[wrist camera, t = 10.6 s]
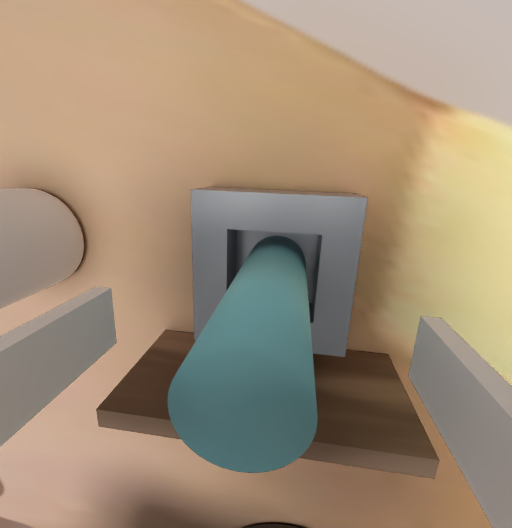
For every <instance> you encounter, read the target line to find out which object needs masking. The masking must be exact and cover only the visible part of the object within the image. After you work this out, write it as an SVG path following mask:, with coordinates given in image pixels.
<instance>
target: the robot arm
mask: <svg viewBox="0 0 512 528" xmlns="http://www.w3.org/2000/svg"><path fill="white" fill-rule="evenodd" d="M116 343H117V342H116V332H115V322H114V313H113V303H112V293H111V288H105V287H94V288H92V289H90V290H88V291H86V292H84V293H82V294H80V295H78V296H76V297H74V298H73V299H71V300H69V301H67V302H65V303H63V304H61V305H59V306H57V307H55V308H54V309H52V310H50V311H48V312H46V313H44V314H42V315H40V316H38V317H36V318H34V319H33V320H31V321H29V322H27V323H25V324H23V325H21V326H19V327H17V328H15V329H14V330H12V331H10V332H8V333H6V334H4V335H2V336H0V446H2V445H3V444H4V443H5V442H6V441H7V440H8V439H9V438H11V437H12V436H13V435H14V434H15V433H16V432H17V431H18V430H20V429H21V428H22V427H23V426H24V425H25V424H26V423H27V422H28V421H30V420H31V419H32V418H33V417H34V416H35V415H36V414H37V413H39V412H40V411H41V410H42V409H43V408H44V407H45V406H46V405H47V404H49V403H50V402H51V401H52V400H53V399H54V398H55V397H56V396H58V395H59V394H60V393H61V392H62V391H63V390H64V389H65V388H67V387H68V386H69V385H70V384H71V383H72V382H73V381H74V380H75V379H77V378H78V377H79V376H80V375H81V374H82V373H83V372H84V371H86V370H87V369H88V368H89V367H90V366H91V365H92V364H93V363H94V362H96V361H97V360H98V359H99V358H100V357H101V356H102V355H103V354H105V353H106V352H107V351H108V350H109V349H110V348H111V347H112V346H113V345H115V344H116ZM408 376H409V378H410V380H411V382H412V384H413V385H414V387H415V389H416V391H417V393H418V394H419V396H420V398H421V400H422V402H423V403H424V405H425V407H426V409H427V411H428V412H429V414H430V416H431V418H432V420H433V421H434V423H435V425H436V427H437V429H438V430H439V432H440V434H441V436H442V438H443V439H444V441H445V443H446V445H447V446H448V448H449V450H450V452H451V454H452V455H453V457H454V459H455V461H456V463H457V464H458V466H459V468H460V470H461V472H462V473H463V475H464V477H465V479H466V481H467V482H468V484H469V486H470V488H471V490H472V491H473V493H474V495H475V497H476V499H477V500H478V502H479V504H480V506H481V508H482V509H483V511H484V513H485V515H486V516H487V518H488V520H489V522H490V524H491V525H492V527H493V528H512V386H511V385H510V384H509V383H508V382H507V381H506V380H505V379H504V378H503V377H502V376H501V375H500V374H499V373H498V372H497V371H496V370H494V369H493V368H492V367H491V366H490V365H489V364H488V363H487V362H486V361H485V360H484V359H483V358H482V357H481V356H480V355H479V354H478V353H477V352H476V351H475V350H474V349H473V348H472V347H471V346H470V345H469V344H468V343H467V342H466V341H465V340H464V339H463V338H462V337H460V336H459V335H458V334H457V333H456V332H455V331H454V330H453V329H452V328H451V327H450V326H449V325H448V324H447V323H446V322H445V321H444V320H443V319H442V318H435V317H424V316H421V318H420V323H419V327H418V332H417V337H416V342H415V346H414V351H413V356H412V361H411V366H410V370H409V375H408ZM247 528H299V527H294V526H289V525H282V524H262V525H255V526H250V527H247Z"/></svg>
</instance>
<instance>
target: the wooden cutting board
mask: <svg viewBox="0 0 512 528" xmlns="http://www.w3.org/2000/svg"><path fill="white" fill-rule="evenodd" d="M195 342H196V340H195V339H194V333H187V332H178V331H169V330H165V331H164V332H163V333H162V335H161V336H160V337H159V338H158V339H157V340H156V341H155V343H154V344H153V345H152V346H151V347H150V348H149V349H148V351H147V352H146V353H145V354H144V355H143V356H142V357H141V359H140V360H139V361H138V362H137V363H136V364H135V366H134V367H133V368H132V369H131V370H130V371H129V372H128V374H127V375H126V376H125V377H124V378H123V379H122V380H121V382H120V383H119V384H118V385H117V386H116V387H115V388H114V390H113V391H112V392H111V393H110V394H109V395H108V396H107V398H106V399H105V400H104V401H103V402H102V403H101V404H100V406H99V407H98V408H97V409H96V411H97V418H98V425H99V427H105V428H112V429H118V430H125V431H131V432H137V433H144V434H150V435H156V436H163V437H169V438H176V439H181V438H180V436H179V435H178V433H177V432H176V430H175V428H174V426H173V424H172V422H171V419H170V416H169V412H168V392H169V388H170V385H171V382H172V380H173V378H174V376H175V374H176V373H177V371H178V369H179V368H180V366H181V365H182V363H183V361H184V360H185V358H186V356H187V355H188V353H189V352H190V350H191V348H192V347H193V345H194V343H195ZM313 365H314V378H315V390H316V403H317V416H318V417H317V428H316V433H315V436H314V438H313V441H312V442H311V444H310V446H309V447H308V449H307V450H306V451H305V452H304V453H303V454H302V455H301V456H300V457H299V458H304V459H310V460H316V461H323V462H329V463H336V464H342V465H348V466H355V467H361V468H368V469H374V470H380V471H387V472H393V473H399V474H406V475H412V476H419V477H425V478H431V479H434V478H435V475H436V471H437V467H438V464H439V458H438V456H437V454H436V452H435V450H434V448H433V446H432V444H431V442H430V440H429V438H428V436H427V434H426V432H425V430H424V427H423V425H422V423H421V421H420V419H419V417H418V415H417V413H416V411H415V409H414V407H413V405H412V403H411V401H410V399H409V397H408V394H407V392H406V390H405V388H404V386H403V384H402V382H401V380H400V378H399V376H398V374H397V372H396V370H395V368H394V366H393V364H392V361H391V359H390V357H389V355H388V354H380V353H370V352H361V351H352V350H346V353H345V357H340V356H331V355H322V354H313Z"/></svg>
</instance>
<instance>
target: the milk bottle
mask: <svg viewBox="0 0 512 528" xmlns="http://www.w3.org/2000/svg"><path fill="white" fill-rule="evenodd" d="M83 253H84V239H83V234H82V230H81V227H80V225H79V223H78V221H77V219H76V217H75V216H74V215H73V213H72V211H71V210H70V209H69V208H68V207H67V206H66V205H65V204H64V203H63V202H61V201H60V200H59V199H58V198H56V197H54V196H52V195H50V194H48V193H46V192H44V191H41V190H37V189H32V188H11V189H0V309H1V308H3V307H5V306H8V305H10V304H12V303H14V302H17V301H19V300H21V299H23V298H26V297H28V296H30V295H32V294H35V293H37V292H39V291H41V290H43V289H46V288H48V287H50V286H52V285H55V284H57V283H59V282H61V281H63V280H65V279H67V278H68V277H70V276H71V275H72V274H73V273H74V272H75V270H76V269H77V268H78V266H79V264H80V262H81V260H82V257H83Z"/></svg>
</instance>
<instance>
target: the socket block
mask: <svg viewBox="0 0 512 528" xmlns="http://www.w3.org/2000/svg"><path fill="white" fill-rule="evenodd" d="M367 199H368V198H367V197H364V196H361V195H358V194H355V193H335V192H313V191H291V190H269V189H247V188H224V187H205V188H198V189H191V223H192V262H193V300H194V339H195V340H197V339H198V337H199V335H200V334H201V332H202V330H203V329H204V327H205V326H206V324H207V322H208V321H209V319H210V317H211V316H212V314H213V313H214V311H215V309H216V308H217V306H218V304H219V303H220V301H221V300H222V298H223V296H224V295H225V293H226V291H227V290H228V288H229V286H230V285H231V283H232V282H233V280H234V278H235V277H236V275H237V273H238V272H239V270H240V269H241V267H242V265H243V264H244V262H245V260H246V259H247V257H248V256H249V254H250V252H251V251H252V249H253V248H254V246H255V245H256V244H257V243H258V242H259V241H261V240H262V239H264V238H266V237H270V236H284V237H287V238H289V239H291V240H293V241H294V242H296V243H297V244H298V245H299V247H300V248H301V249H302V251H303V253H304V256H305V262H306V275H307V288H308V301H309V314H310V326H311V339H312V352H313V354H322V355H331V356H340V357H345V353H346V346H347V339H348V332H349V325H350V318H351V311H352V304H353V297H354V290H355V283H356V276H357V269H358V262H359V255H360V248H361V241H362V234H363V227H364V220H365V213H366V206H367Z"/></svg>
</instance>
